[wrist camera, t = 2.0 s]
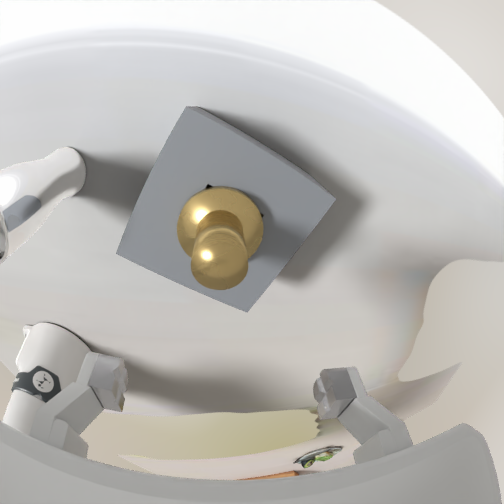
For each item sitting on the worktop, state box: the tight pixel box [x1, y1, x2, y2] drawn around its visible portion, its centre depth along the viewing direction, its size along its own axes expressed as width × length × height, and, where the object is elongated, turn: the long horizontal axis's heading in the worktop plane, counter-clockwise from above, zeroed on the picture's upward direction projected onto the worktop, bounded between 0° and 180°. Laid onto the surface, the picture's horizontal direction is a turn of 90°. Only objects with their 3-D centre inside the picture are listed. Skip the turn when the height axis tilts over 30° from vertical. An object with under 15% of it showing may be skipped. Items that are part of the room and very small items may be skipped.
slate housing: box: [116, 107, 336, 312], centre depth 26 cm, size 14×14×8 cm
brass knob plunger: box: [177, 184, 263, 290], centre depth 23 cm, size 7×7×14 cm
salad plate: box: [294, 447, 342, 468], centre depth 81 cm, size 19×18×5 cm
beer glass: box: [0, 147, 86, 264], centre depth 19 cm, size 7×7×15 cm
